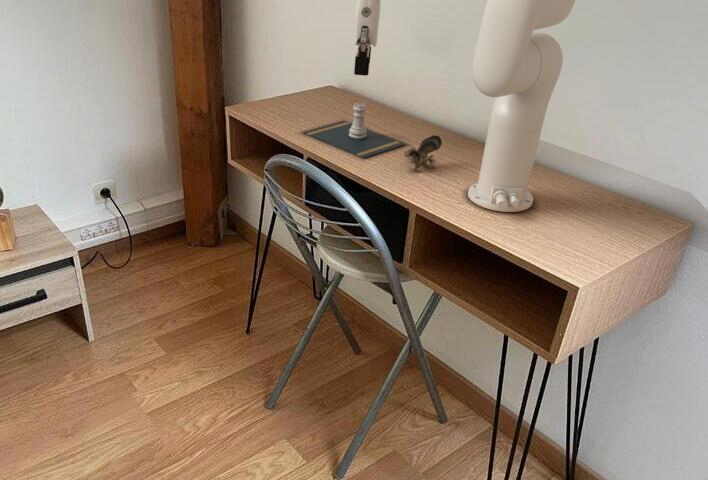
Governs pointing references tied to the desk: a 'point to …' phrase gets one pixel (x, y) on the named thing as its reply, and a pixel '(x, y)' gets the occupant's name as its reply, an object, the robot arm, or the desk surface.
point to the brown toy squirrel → (424, 151)
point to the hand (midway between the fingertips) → (362, 69)
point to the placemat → (353, 140)
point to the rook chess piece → (358, 122)
